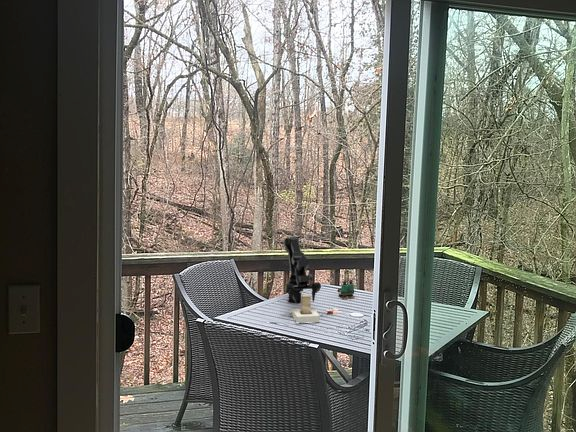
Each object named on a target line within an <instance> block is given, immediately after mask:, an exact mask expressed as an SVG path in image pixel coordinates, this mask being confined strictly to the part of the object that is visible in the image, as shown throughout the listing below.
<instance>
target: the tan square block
mask: <svg viewBox="0 0 576 432" xmlns="http://www.w3.org/2000/svg"><path fill="white" fill-rule="evenodd" d="M311 300H312V296H310V294H301V301H300V303H301V304H300V305H301V307H300V309H301V315H302V314H310V308H311V302H312V301H311Z"/></svg>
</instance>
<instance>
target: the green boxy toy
mask: <svg viewBox="0 0 576 432" xmlns="http://www.w3.org/2000/svg"><path fill="white" fill-rule="evenodd" d="M353 281H354V280H353V279H350V280H349V281H348V282H349V283H348V284H347V281H344V280H343V281H342V284H341V285H340V287H341V288H338V289H337V293H338V297H341V298H342V300H347V299H348V297H349V299H354V297H355V296H354V294H355V285H354V284H355V283H353Z"/></svg>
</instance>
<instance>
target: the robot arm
mask: <svg viewBox="0 0 576 432" xmlns="http://www.w3.org/2000/svg"><path fill="white" fill-rule="evenodd" d="M282 241H283V242H282V243H283V247H284V250H285V252H287V254H288V264H289V272H290V276H289V278H288V281H287V283H286V284H285V287H284V292H285V293H287V294H288V301H287V302H288V303H293V304H294V303H296V304H300V303H301V299H302V293H303V291H304V290H311V300H312V303H314V302H315V297H316V294H317V293H318V292H320V290H321V288H322V284H321V283H320V282H312V284H310V281H313V274H312V273H308V274H307V270H308V267H309V263H310V261H309V259H307V256H306V255H305V252H303V251H301V247H300V239H299V237H297V236H290V237H285V238H284V239H283V240H282Z"/></svg>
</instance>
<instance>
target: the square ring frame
mask: <svg viewBox="0 0 576 432" xmlns="http://www.w3.org/2000/svg"><path fill="white" fill-rule="evenodd" d="M292 315H293V317H294V319H295V320H296V322H319V323H320V314H319V313H318V311H317V309H316V308H315V307H310V314H302V315H301V308H292V309H291V316H292ZM293 317H292V318H293ZM294 319H293V320H294ZM295 320H294V321H295ZM296 322H295V323H296Z"/></svg>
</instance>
